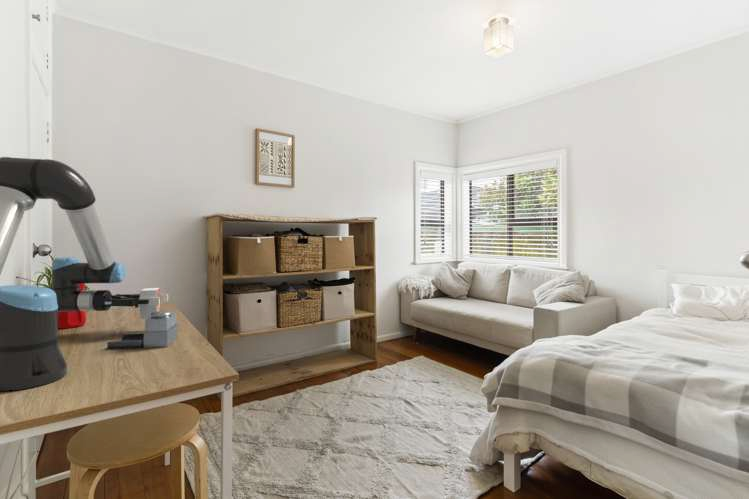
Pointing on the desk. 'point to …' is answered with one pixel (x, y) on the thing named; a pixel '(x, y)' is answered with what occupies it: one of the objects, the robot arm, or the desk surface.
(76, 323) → the water bottle
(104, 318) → the desk surface
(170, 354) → the desk surface
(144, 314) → the small box
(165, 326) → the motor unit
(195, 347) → the desk surface
